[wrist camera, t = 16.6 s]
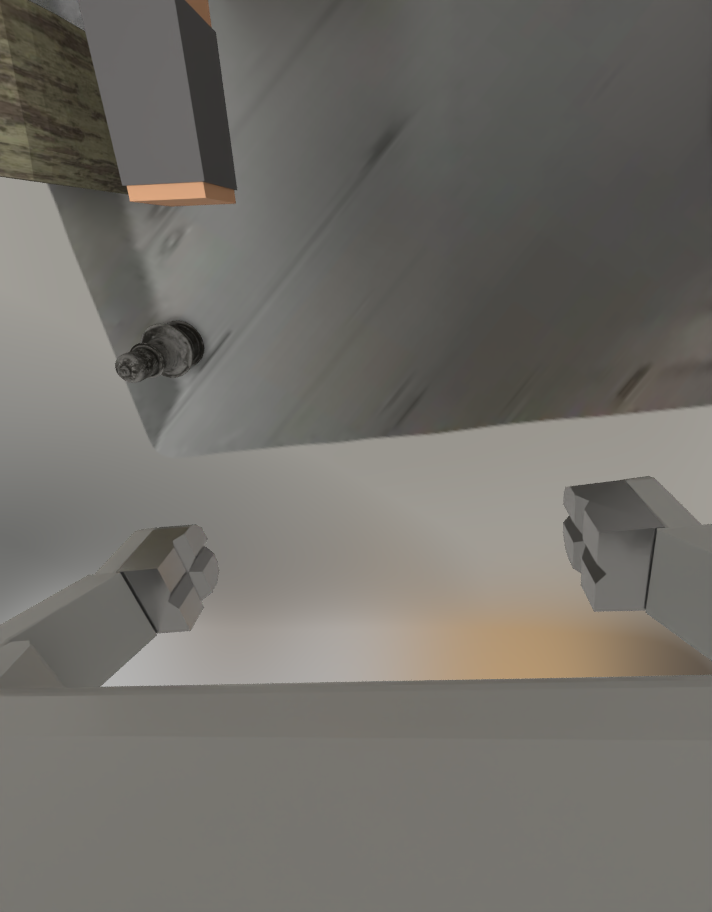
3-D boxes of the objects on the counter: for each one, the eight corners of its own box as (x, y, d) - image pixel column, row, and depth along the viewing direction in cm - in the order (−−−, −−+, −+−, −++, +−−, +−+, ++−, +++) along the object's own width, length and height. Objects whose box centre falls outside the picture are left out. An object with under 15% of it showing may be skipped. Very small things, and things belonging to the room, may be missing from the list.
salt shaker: (208, 371, 50) (154, 407, 40) (161, 366, 51) (95, 400, 40) (203, 320, 47) (144, 344, 37) (153, 315, 48) (80, 338, 37)
